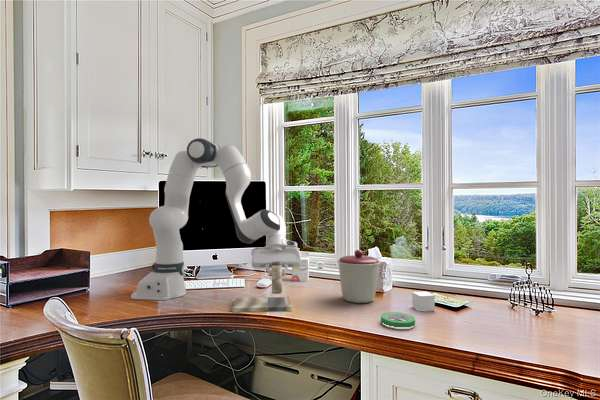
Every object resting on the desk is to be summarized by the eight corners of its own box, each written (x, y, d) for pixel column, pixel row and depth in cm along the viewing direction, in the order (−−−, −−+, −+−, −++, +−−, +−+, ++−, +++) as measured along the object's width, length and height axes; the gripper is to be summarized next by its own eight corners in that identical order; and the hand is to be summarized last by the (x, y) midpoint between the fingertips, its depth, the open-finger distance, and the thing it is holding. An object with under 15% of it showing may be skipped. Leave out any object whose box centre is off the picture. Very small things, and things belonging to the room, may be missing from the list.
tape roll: (421, 328, 119) (421, 320, 119) (392, 332, 116) (392, 323, 116) (402, 318, 130) (402, 310, 130) (375, 321, 126) (375, 313, 126)
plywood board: (232, 312, 135) (232, 308, 135) (235, 301, 149) (235, 297, 149) (291, 310, 137) (291, 306, 137) (289, 300, 151) (289, 297, 151)
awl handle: (271, 294, 141) (271, 263, 141) (271, 291, 145) (271, 261, 145) (282, 293, 141) (282, 263, 141) (281, 291, 145) (281, 261, 145)
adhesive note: (420, 312, 136) (420, 296, 136) (412, 307, 142) (412, 292, 142) (434, 311, 138) (434, 295, 138) (426, 306, 144) (426, 291, 144)
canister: (362, 292, 164) (362, 246, 164) (389, 302, 148) (390, 251, 148) (328, 297, 156) (328, 248, 156) (353, 308, 140) (354, 254, 140)
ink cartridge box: (291, 281, 187) (291, 252, 187) (292, 279, 192) (293, 251, 192) (308, 281, 186) (308, 253, 186) (309, 279, 191) (309, 251, 191)
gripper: (251, 242, 150) (250, 271, 140) (300, 242, 151) (302, 270, 142) (251, 252, 154) (250, 280, 144) (299, 251, 156) (301, 279, 146)
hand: (276, 275), depth 143 cm, fingers closed on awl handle, 4 cm apart
